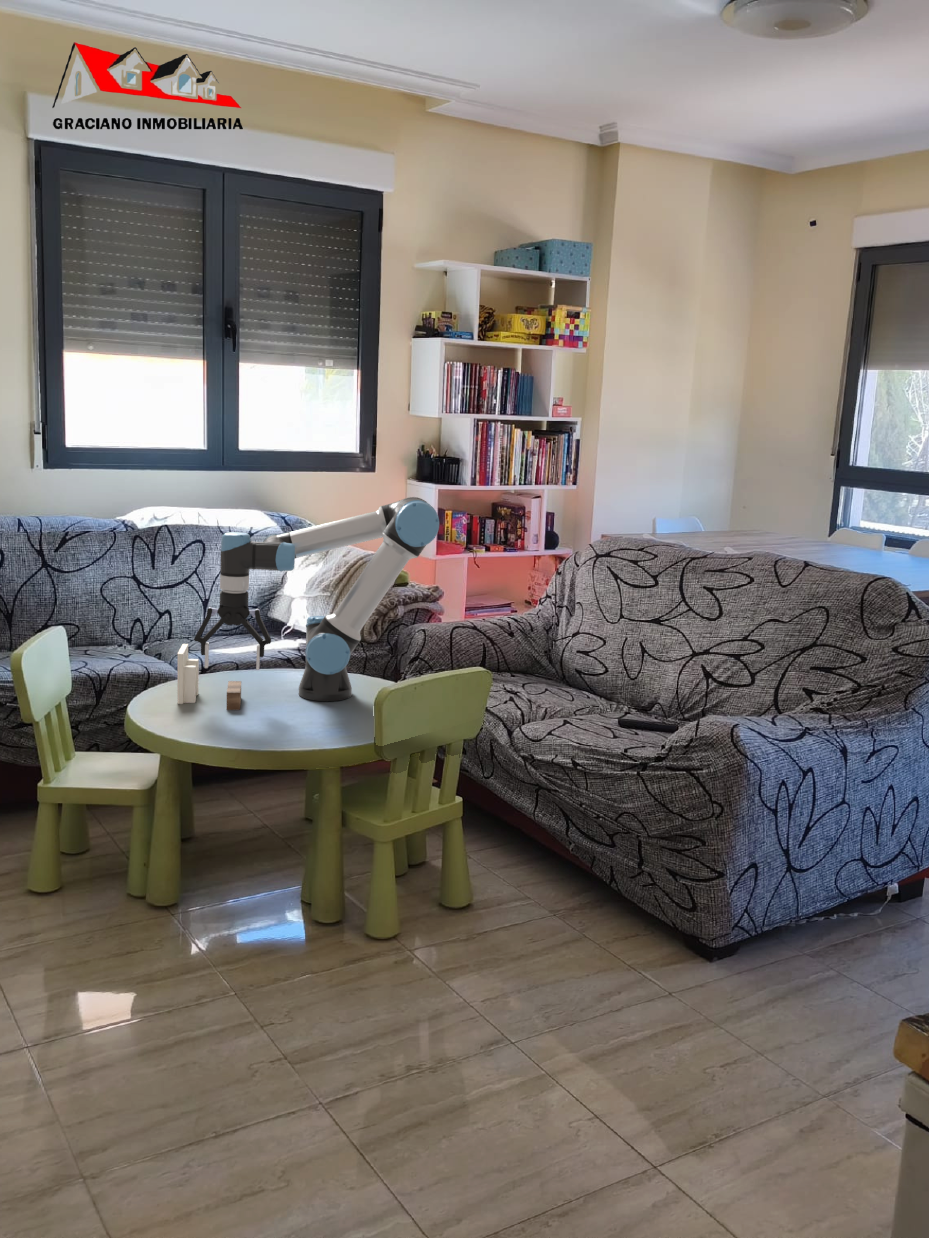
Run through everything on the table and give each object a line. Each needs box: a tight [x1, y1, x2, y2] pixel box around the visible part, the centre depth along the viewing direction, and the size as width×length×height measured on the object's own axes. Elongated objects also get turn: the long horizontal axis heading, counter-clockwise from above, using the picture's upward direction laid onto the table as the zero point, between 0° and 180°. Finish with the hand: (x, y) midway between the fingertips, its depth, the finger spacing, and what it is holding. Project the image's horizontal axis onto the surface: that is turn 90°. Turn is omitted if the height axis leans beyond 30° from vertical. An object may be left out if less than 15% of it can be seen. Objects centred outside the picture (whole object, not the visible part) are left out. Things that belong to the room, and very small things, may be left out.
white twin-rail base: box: [177, 643, 200, 705], centre depth 301 cm, size 4×12×14 cm, turn 8°
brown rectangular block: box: [226, 680, 242, 711], centre depth 299 cm, size 12×4×5 cm, turn 10°
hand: (232, 667), depth 295 cm, fingers open, 13 cm apart
